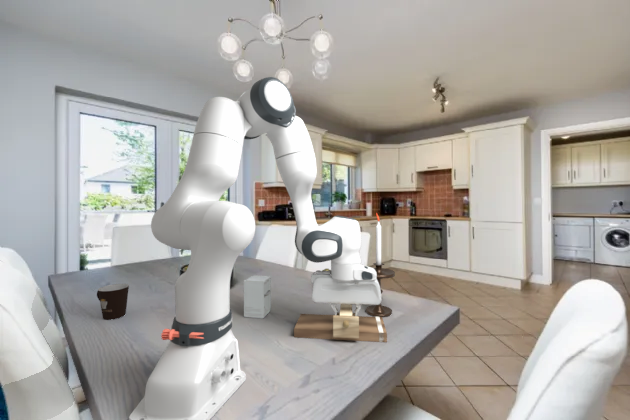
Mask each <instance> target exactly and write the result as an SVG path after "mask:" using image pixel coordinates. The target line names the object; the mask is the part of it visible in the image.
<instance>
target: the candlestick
mask: <svg viewBox="0 0 630 420" xmlns="http://www.w3.org/2000/svg"><path fill="white" fill-rule="evenodd" d="M375 216H376V220H377V225H375V262H374V263H372V265H374V266H375V267H373V268H374V269H375V271H376V273H377V278H376V279H377V280H378V282H379V285H380V290H381V295H382V294H383V292H384V291H383V289H382V288H381V287H382V284H381V280H383V279H391V278H393V277H395V276H396V274H395V271H394V270H392V269H389V268H383V266H385V263H383V262H382V225H381V223H380V221H381V220H380V217H379V215H378V213H377V212H376V215H375ZM381 300H383V296H381ZM365 313H366V314H367V315H368V316H370V317H382V318H388V317H391V316H392V315H391V314H393V310H392V308H391V307H389V306H385V305H382V302H381V303H380V304H379V305H368V306H366V307H365ZM390 315H391V316H390Z"/></svg>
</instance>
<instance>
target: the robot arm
mask: <svg viewBox="0 0 630 420" xmlns="http://www.w3.org/2000/svg"><path fill="white" fill-rule="evenodd" d="M293 98H294V97H293V96H292V94H291V92H290V89H289V88H288V87H287V85H286V84H285V83H284V82H283V81H282V80H280V79H279V78H277V77H274V76H268V77H264V78H261V79H259V80H258V81H256V82H255V83H254V84H252V86H251V87H249V88H248V89H246V90H245V91H244V92H243V93H242V94H241V95H240V96H239V97H237V99H236V100H233V99H231V98H228V97H224V96H215V97H214V96H213V97H211V98H209V99H208V100H206V101H205V103H204V104H203V107H202V109H201V111H200V112H199V113H200V114H199V116H198V118H197V120H196V121H197V122H196V125H195V128H194V131H193V135H192V140H191V145H190V149H189V153H188V157H187V161H186V165H185V167H184V171H183V174H182V175H181V177H180V179H179V181H178V183H177V185H176V186H175V188H174V190H173V191H172V193H171V196H170V197H169V198H168V200H166V202H165V203H164V204H163V205H162V206H161V207H159V208H158V209H157V210H156V211H155V212H154V214H153V215H152V218H151V223H150V228H151V232H152V235H153V237H154V238H155V239H156V240H157V241H158V242H159V243H161V244H164V245H166V246H167V247H170V248H172V249H176V250H184V251H190V258H189V263H188V266H187V268H186V270H185V271H183V273H182V274H181V275H179V276H178V278H177V279H176V280H175V284H174V298H175V299H174V300H175V301H174V303H175V304H174V305H175V314H174V315H175V316H174V318H173V320H172V324H171V328H170V329H169V328H164V329H163V330H162V332H161V333H160V334H161V335H160V336H161V340H162V341H167V340H169V342H168V344H167V346H166V348H165V349H164V351H162V354H161V356H160V358H159V359H158V362H157V363H156V364H155V367H154V369H153V370H152V372H151V373H150V374H149V377H148V379H147V381H146V383H145V391H144V392H145V393H144V396H143V397H142V398H141V400H140V402H138V404H137V406H136V407H135V408H134V409H133V410H132V412H131V413H130V415H129V416H128V420H211V419H212V418H213V417H214V415H216V414H217V412H218V411H220V409H221V408H222V407H223V406H224V404H226V402H227V401H228V400H229V399H230V398H231V397H232V396H233V395H234V394H235V392H236V391H237V390H238V389H239V388H240V387H241V386H242V385H243V384H244V383H245V381H246V380H247V375H246V372H245V371H243V370H242V369H241V362H240V361H241V360H240V351H239V342H238V341H239V340H238V339H237V338H236V337H235V335H234V333H233V331H232V328H233V313H232V312H233V311H232V309H231V308H230V305H231V304H230V302H231V300H230V299H231V297H230V295H231V292H230V291H231V277H232V272H233V269H234V266H235V263H236V261H237V259H238V257H239V255H240V254H241V253H242V252H243V251H244V250H245V249H247V248H248V246H249V245H251V243H252V241H253V239H254V237H255V235H256V234H255V233H256V220H255V217H254V215H253V213H252V211H251V209H249V208H248V206H246V205H244V204H242V203H241V204H240V203H238V202H232V201H230V200H220V199H221V198H222V196H223V194H225V192H226V191H227V190H229V188H231V187H233V185H234V184H235V183H236V181H237V179H238V176H239V171H240V165H241V159H242V153H243V147H244V141H245V140H253V139H257V138H258V137H260V136H261V135H264V134H265V136H266V137H267V139H268V140H269V141H270V143H271V145H272V149H273V155H274V159H275V162H276V167H277V169H278V172H279V175H280V178H281V180H282V182H283V184H284V187H285V189H286V192H287V194H288V196H289V198H290V201H291V205H292V210H293V214H294V219H295V225H296V230H295V235H294V236H295V237H294V245H295V248H296V250H297V251H298V253H300V254H301V255H302V256H303V257H304V258H306V259H307V261H310V262H312V263H317V264H318V263H325V262H328V261H329V262H330V270H331V271H322V270H316V271H313V272H312V274H311V275H310V282H311V284H312V289H311V300H312V302H314V303H315V304H317V303H318V304H331V305H330V307H331V308H332V310H333V312H334V315H340V309H338V308H337V304H340V305H341V304H352V305H355V307H356V308H355V310H352V316H358V314H359V312H360V310H361V309H362V305H368V306H371V305H379V304H380V303H381V304H382V299H381V297H382V294H381V290H380V285H379V282H378V280H377V279H376V278H377V273H376V271H375V269H374V268H375V267H371V266H368V265H364V264H362V259H361V249H362V236H361V233H362V232H361V226H360V223H359V221H358V220H357V219H355V218H353V217H347V216H343V215H335V216H333V217H332V218H331V219H329V220H328V221H326V222H325V223H323V224H321V225H318V223H317V220H316V214H315V210H314V205H313V201H312V200H313V199H312V190H313V186H314V183H315V180H317V179H316V178H317V176H318V175H317V174H318V170H317V169H318V168H317V159H316V154H315V153H316V152H315V151H314V146H313V143H312V139H311V136H310V133H309V131H308V128H307V127H306V125H305V122H304V120H303V119H302V118H301V117H299V116H297V115H296V112H297V109H296V106H295V102H294V99H293Z"/></svg>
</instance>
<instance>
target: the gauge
mask: <svg viewBox="0 0 630 420" xmlns="http://www.w3.org/2000/svg"><path fill="white" fill-rule="evenodd" d="M339 308H340V309H339V310H340V315H335V314H332V315H333V337H340V338H359V315H357V316H352V311H353V304H340V307H339Z"/></svg>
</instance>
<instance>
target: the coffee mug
mask: <svg viewBox="0 0 630 420" xmlns="http://www.w3.org/2000/svg"><path fill="white" fill-rule="evenodd" d="M129 288H130V284H128V283H116V284H115V283H114V284H110V285H109V284H108V285H104V286H102V287H100V288H98V289H97V292H96V297H97V299H98V301H99V304H100V311H101V315H102V319H103V320H104V321H112V320H111V319H113V320H116V319H117V318H118V319H121V318H123V317H124V315H125V314H127V306H128V296H129V290H130V289H129ZM125 316H126V315H125ZM120 317H121V318H120Z"/></svg>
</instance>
